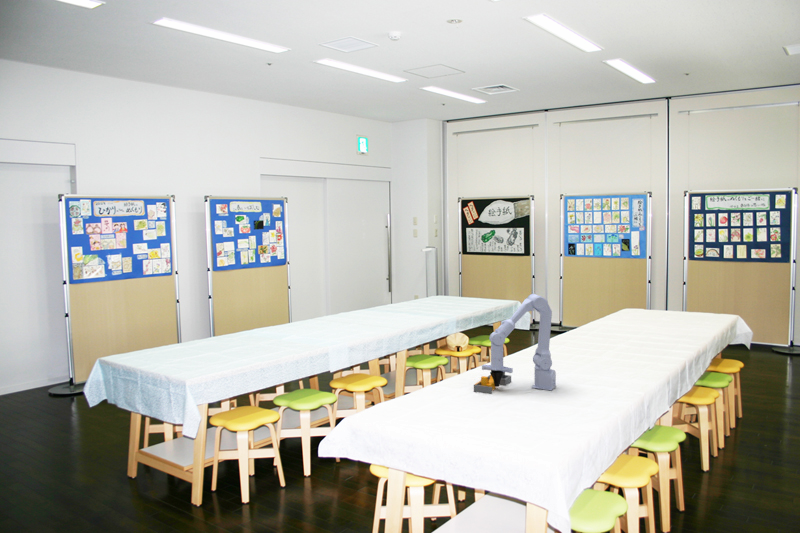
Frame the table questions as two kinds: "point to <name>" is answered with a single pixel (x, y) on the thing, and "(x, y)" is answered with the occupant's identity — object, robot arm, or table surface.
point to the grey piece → (485, 389)
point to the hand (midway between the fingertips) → (497, 386)
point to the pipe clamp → (488, 382)
